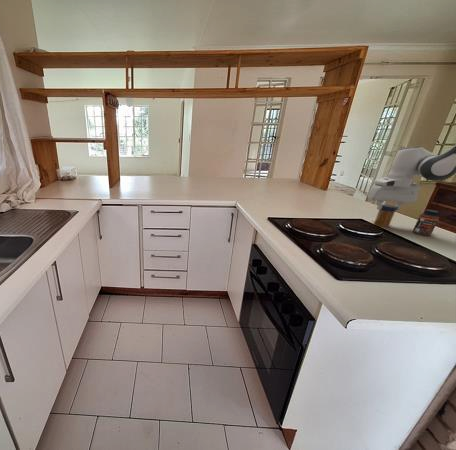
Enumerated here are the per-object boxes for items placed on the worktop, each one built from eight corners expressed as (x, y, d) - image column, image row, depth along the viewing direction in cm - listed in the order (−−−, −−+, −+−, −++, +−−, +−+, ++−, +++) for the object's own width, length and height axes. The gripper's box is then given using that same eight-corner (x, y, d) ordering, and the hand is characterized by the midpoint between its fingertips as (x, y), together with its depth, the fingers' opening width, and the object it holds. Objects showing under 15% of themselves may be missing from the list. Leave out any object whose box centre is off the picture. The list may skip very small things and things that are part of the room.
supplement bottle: (416, 234, 108) (427, 211, 104) (409, 230, 113) (419, 208, 109) (434, 237, 106) (445, 213, 102) (425, 232, 111) (436, 209, 107)
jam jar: (382, 223, 122) (389, 205, 119) (392, 227, 117) (399, 208, 114) (370, 222, 123) (377, 205, 119) (379, 226, 117) (387, 208, 114)
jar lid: (388, 208, 120) (389, 204, 119) (399, 211, 114) (400, 208, 113) (375, 207, 120) (377, 204, 119) (386, 211, 114) (387, 207, 114)
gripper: (414, 182, 115) (403, 209, 119) (370, 180, 116) (361, 207, 120) (427, 184, 109) (415, 212, 113) (381, 182, 110) (370, 210, 115)
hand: (387, 209), depth 117 cm, fingers closed on jar lid, 6 cm apart
